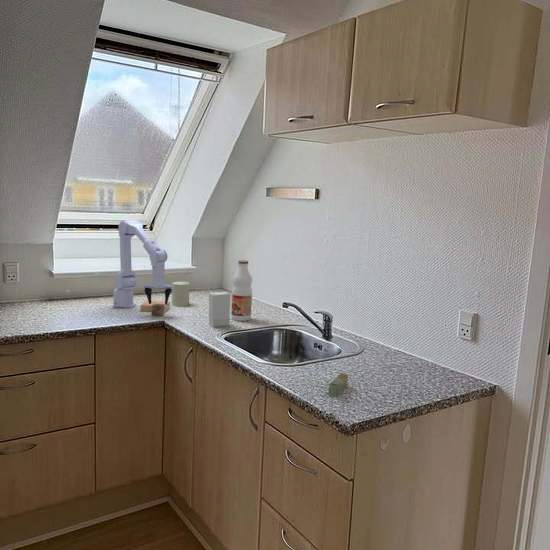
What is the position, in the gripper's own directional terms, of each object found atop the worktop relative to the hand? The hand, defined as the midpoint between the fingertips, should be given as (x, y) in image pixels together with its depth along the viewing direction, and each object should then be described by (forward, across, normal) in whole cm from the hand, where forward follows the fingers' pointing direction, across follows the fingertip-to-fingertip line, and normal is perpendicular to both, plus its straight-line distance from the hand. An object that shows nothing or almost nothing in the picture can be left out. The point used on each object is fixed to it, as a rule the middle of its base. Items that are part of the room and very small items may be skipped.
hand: (158, 303), depth 249 cm
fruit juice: (+6, +40, -1) cm, 40 cm away
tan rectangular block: (+5, -4, +12) cm, 14 cm away
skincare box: (+6, +31, -15) cm, 35 cm away
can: (+6, +6, +26) cm, 27 cm away
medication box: (+6, +76, -90) cm, 118 cm away
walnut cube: (+6, 0, 0) cm, 6 cm away
